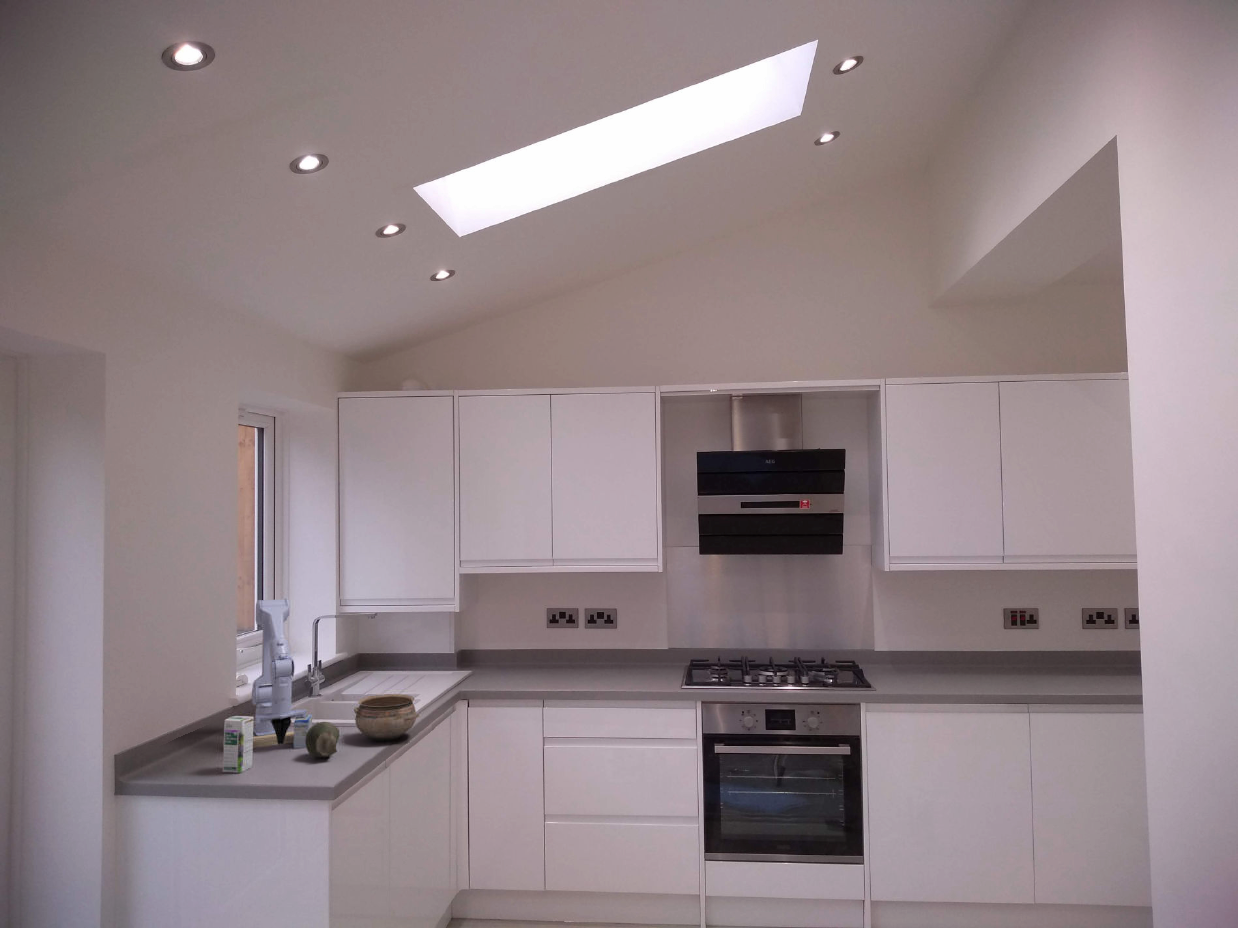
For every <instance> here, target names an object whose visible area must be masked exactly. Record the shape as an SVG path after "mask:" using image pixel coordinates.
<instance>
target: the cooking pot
mask: <svg viewBox="0 0 1238 928" xmlns="http://www.w3.org/2000/svg"><path fill="white" fill-rule="evenodd" d="M414 701H415V697H414V696H412V695H407V694H401V693H400V694H398V693H393V694H392V693H390V694H389V693H388V694H387V693H386V694H377V695H370V696H367V697H363V698H361V699H359V700H358V701H357V703H358V705H359V706H356V707H354V708H353V711H354V713H355V718H354V720H355V721H354V722H355V726H356V728H357V729H358V731H360V732H361V733H362V734H364V736H367V737H368V738H371V739H373V740H375V741H376V740H377V741H376V742H391V741H395V740H396V739H397V738H399V737H401V736H402V735H404V734H405V733H407V732H409V731H410V730H411V728H413V726H414V725H415V723H416V720H417V718H419V717H420V714H419V713H417V711H416V707H415V705H414Z"/></svg>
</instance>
